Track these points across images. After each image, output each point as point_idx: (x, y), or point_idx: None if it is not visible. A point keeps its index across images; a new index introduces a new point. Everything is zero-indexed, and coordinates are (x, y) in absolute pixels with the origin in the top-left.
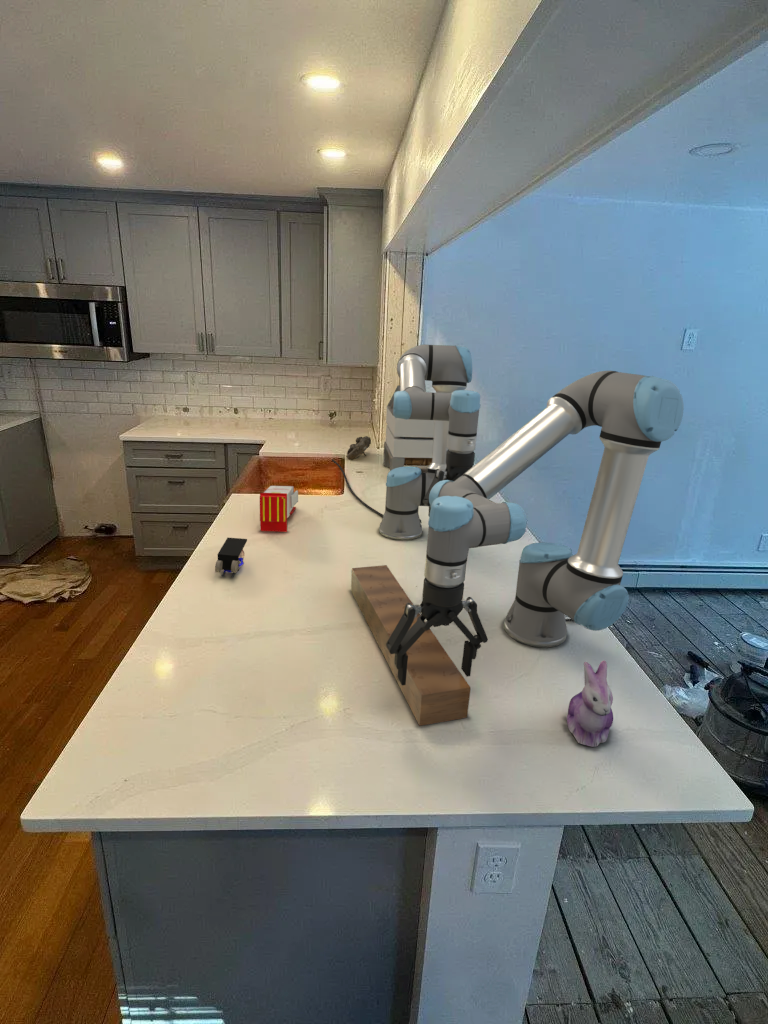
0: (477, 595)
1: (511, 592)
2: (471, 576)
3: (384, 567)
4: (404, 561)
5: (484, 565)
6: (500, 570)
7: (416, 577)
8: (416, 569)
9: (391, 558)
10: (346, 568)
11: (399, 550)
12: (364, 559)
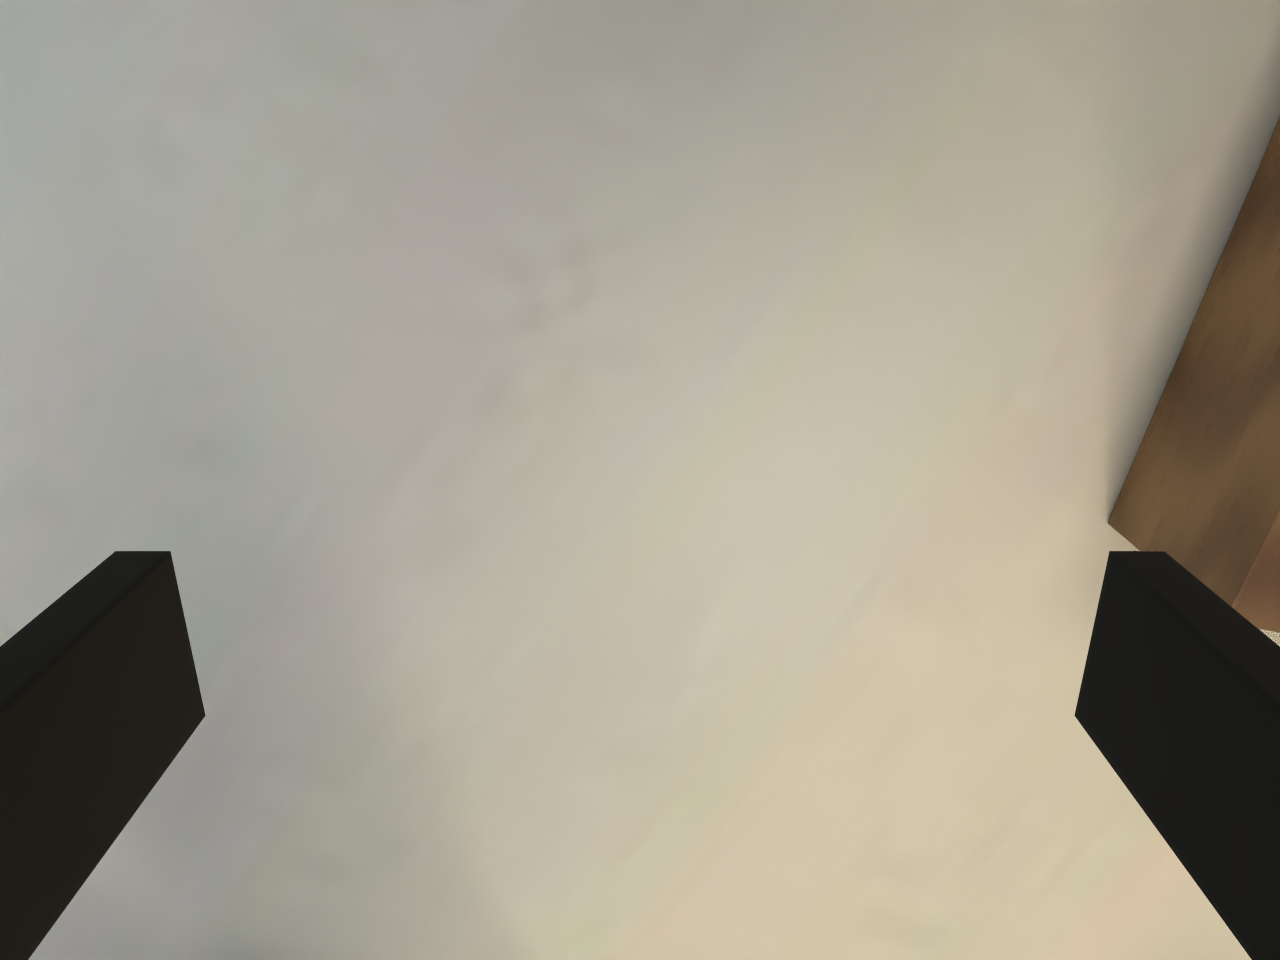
0: (487, 94)
1: (138, 3)
2: (342, 422)
3: (1278, 585)
4: (712, 813)
5: (125, 545)
6: (27, 418)
7: (783, 574)
8: (704, 682)
9: (772, 879)
10: (1151, 859)
11: (645, 957)
12: (955, 924)
